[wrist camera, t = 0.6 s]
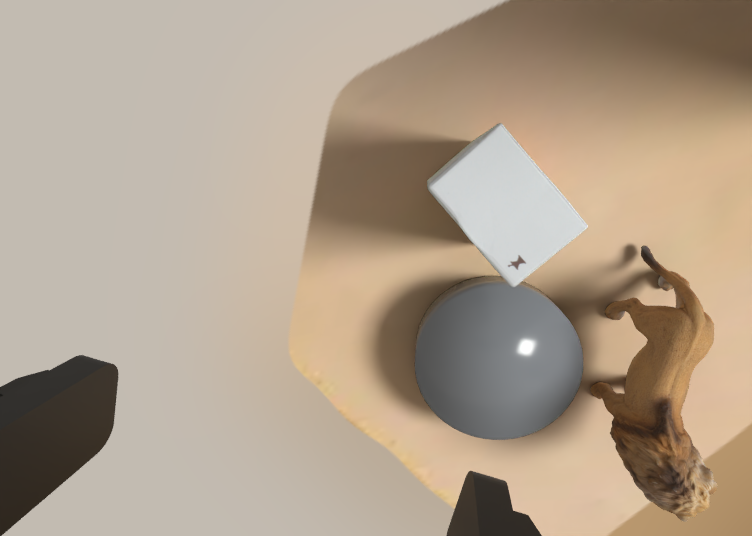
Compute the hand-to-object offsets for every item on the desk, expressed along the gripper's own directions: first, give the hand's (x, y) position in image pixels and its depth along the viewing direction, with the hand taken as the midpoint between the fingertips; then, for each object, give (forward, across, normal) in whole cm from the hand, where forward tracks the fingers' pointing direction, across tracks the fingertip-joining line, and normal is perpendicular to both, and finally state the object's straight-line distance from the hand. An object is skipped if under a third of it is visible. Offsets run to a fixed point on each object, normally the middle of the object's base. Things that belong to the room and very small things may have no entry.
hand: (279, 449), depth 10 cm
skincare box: (+24, -5, -5) cm, 25 cm away
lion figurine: (+24, -18, +3) cm, 30 cm away
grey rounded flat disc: (+23, -9, +5) cm, 26 cm away
